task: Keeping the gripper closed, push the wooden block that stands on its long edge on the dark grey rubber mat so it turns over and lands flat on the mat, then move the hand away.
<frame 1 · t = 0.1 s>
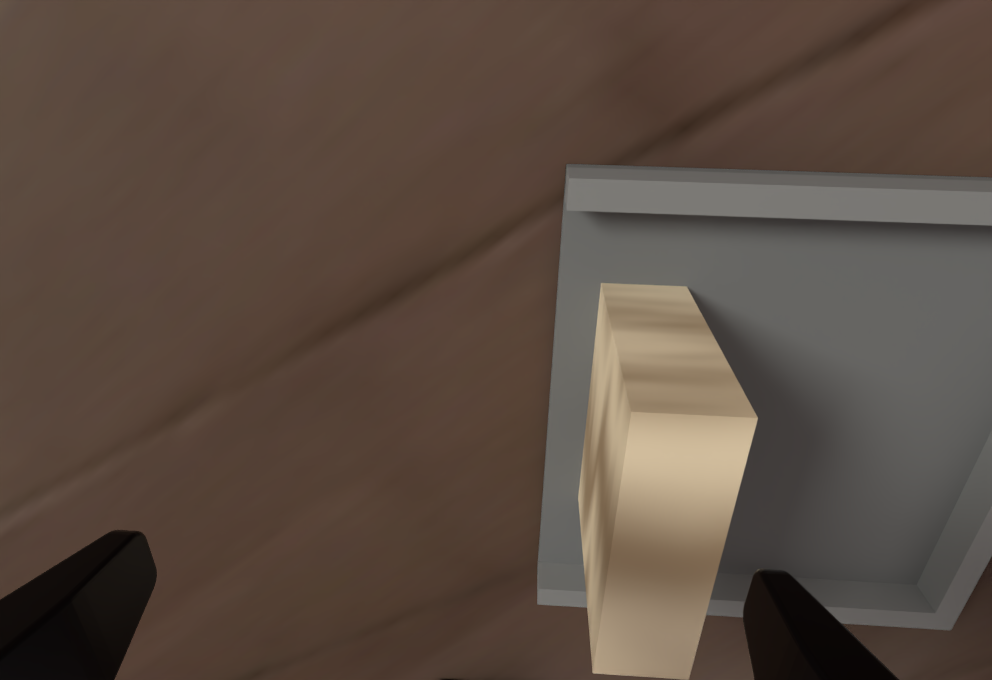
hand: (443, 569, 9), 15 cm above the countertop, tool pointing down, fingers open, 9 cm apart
wooden block: (627, 402, 24), resting on mat
mat: (775, 413, 25), on the countertop
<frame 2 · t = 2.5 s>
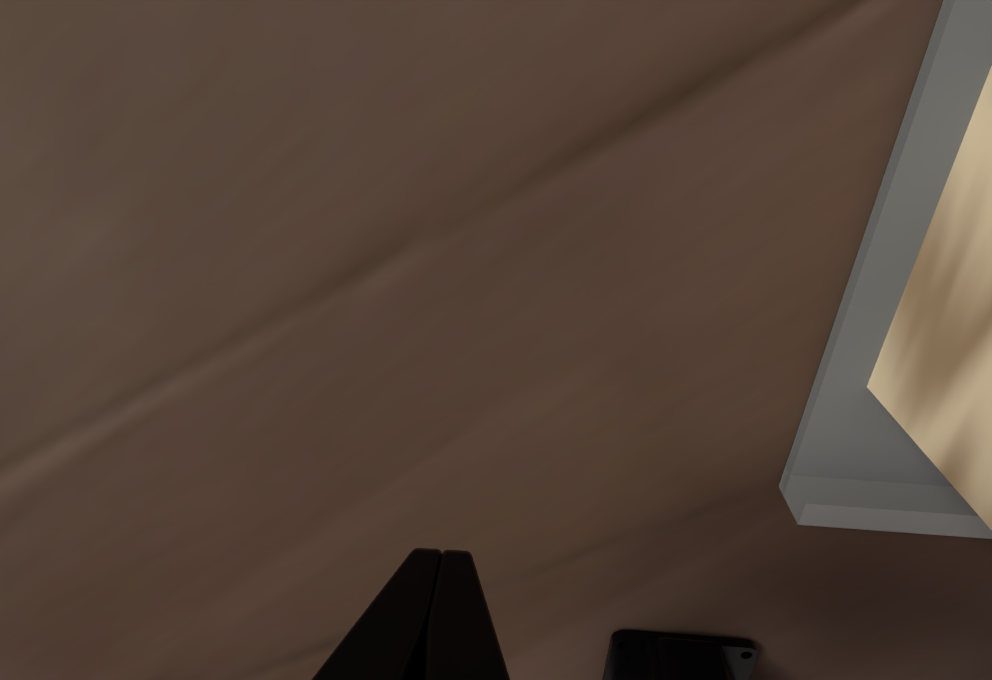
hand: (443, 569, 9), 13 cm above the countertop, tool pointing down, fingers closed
wooden block: (972, 249, 19), resting on mat
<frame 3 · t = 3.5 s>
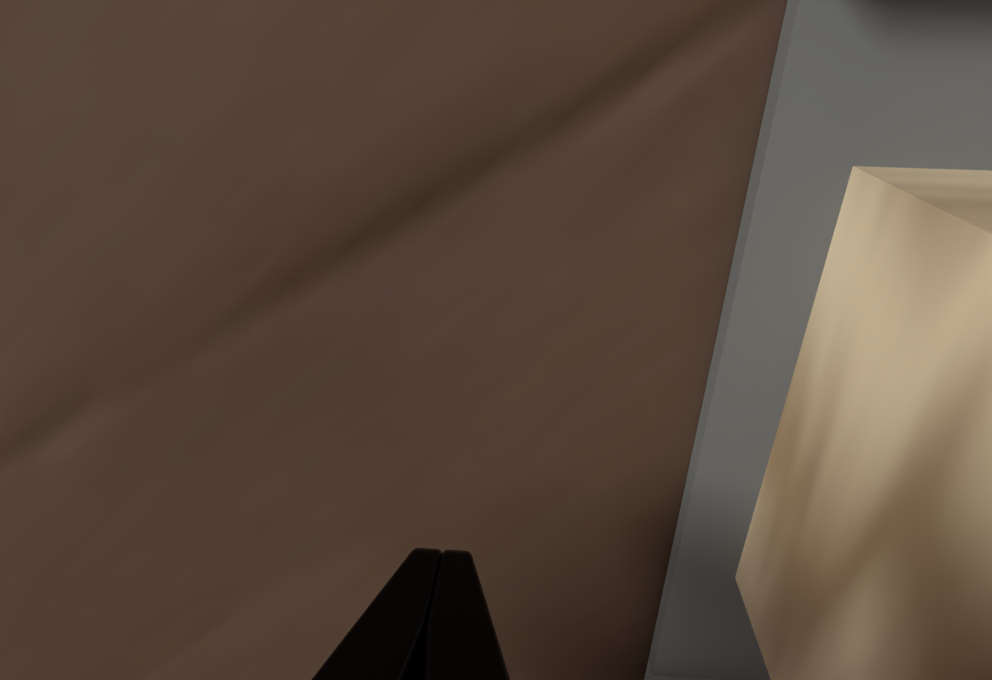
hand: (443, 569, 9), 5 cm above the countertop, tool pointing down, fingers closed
wooden block: (856, 412, 13), resting on mat
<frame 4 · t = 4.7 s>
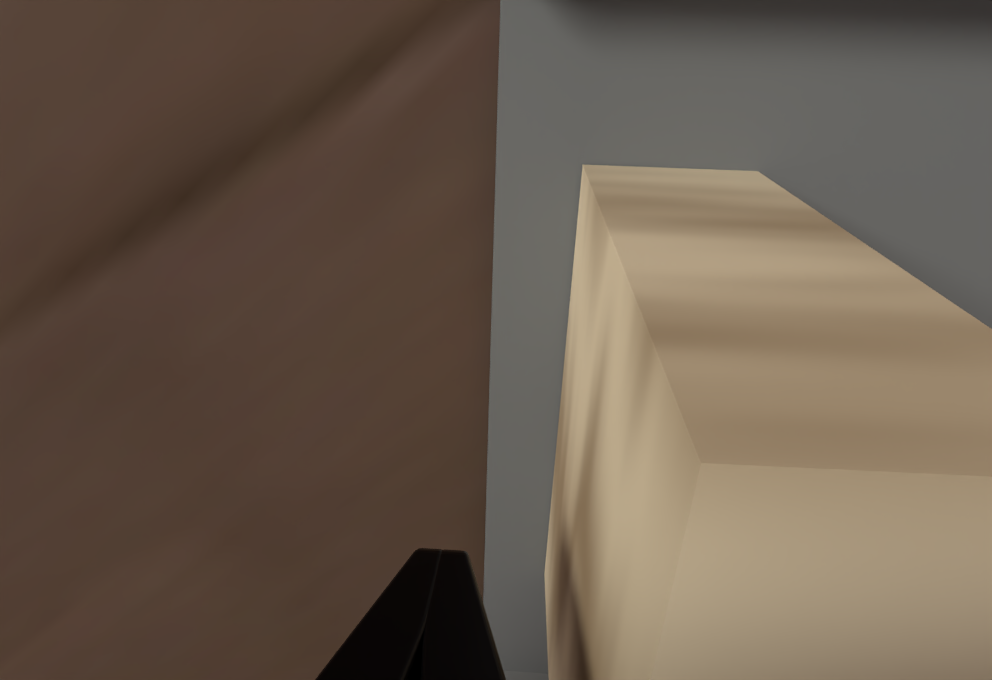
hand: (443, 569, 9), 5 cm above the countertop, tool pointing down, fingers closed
wooden block: (631, 409, 13), point 1 cm above the countertop, touching gripper, mat
mat: (902, 430, 13), on the countertop
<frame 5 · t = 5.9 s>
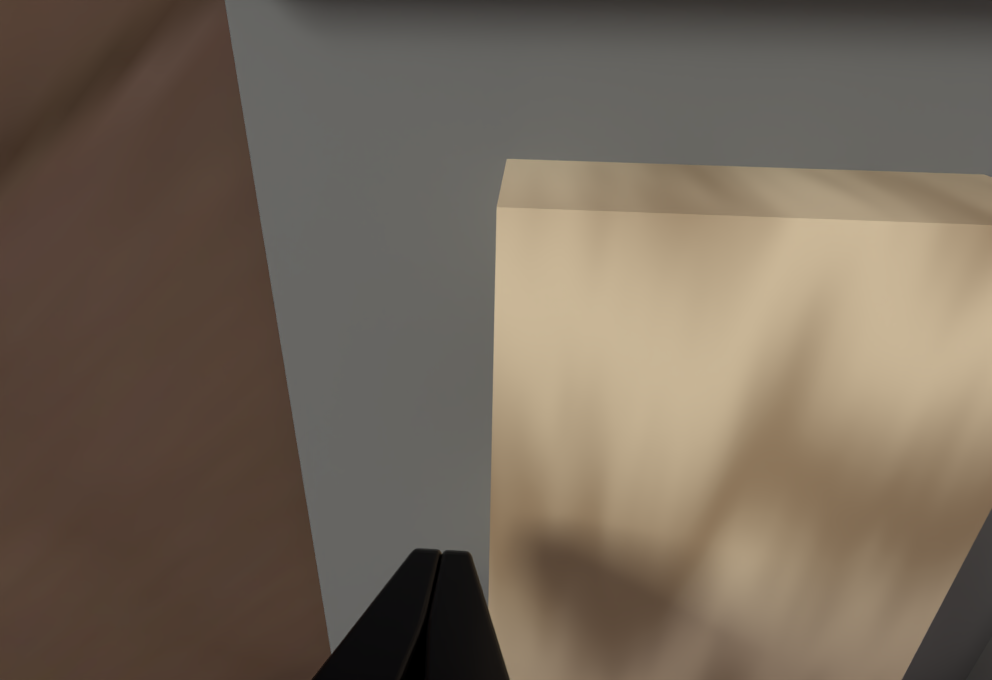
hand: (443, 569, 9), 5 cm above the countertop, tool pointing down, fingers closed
wooden block: (495, 444, 12), point 2 cm above the countertop, tilted 90°, touching mat
mat: (704, 417, 14), on the countertop
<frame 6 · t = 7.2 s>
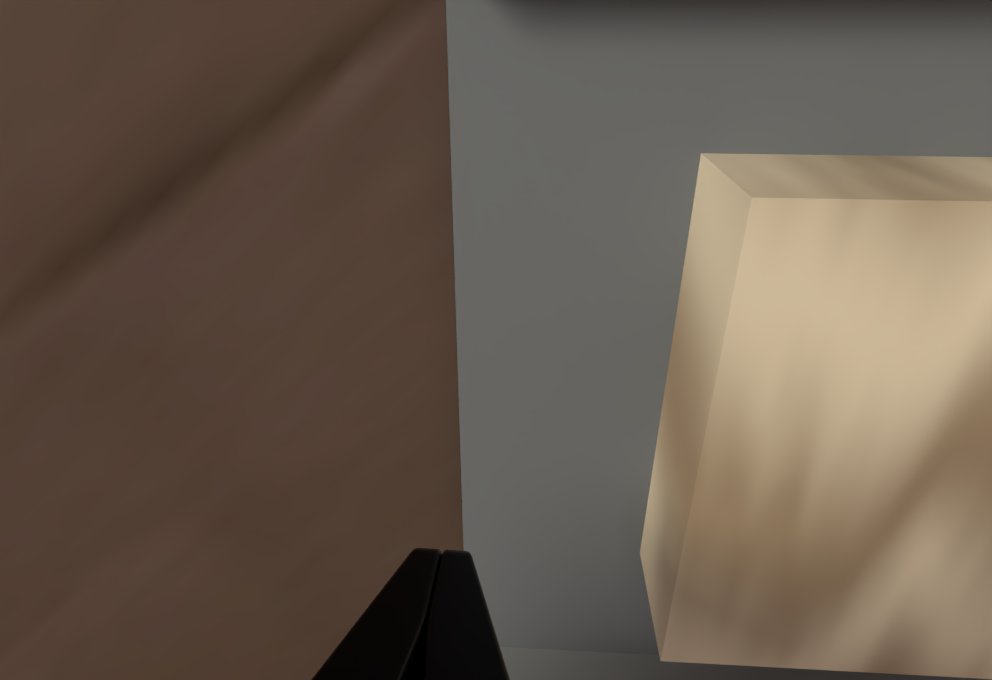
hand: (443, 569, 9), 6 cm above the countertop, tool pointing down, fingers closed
wooden block: (678, 428, 12), point 2 cm above the countertop, tilted 90°, touching mat
mat: (858, 401, 14), on the countertop
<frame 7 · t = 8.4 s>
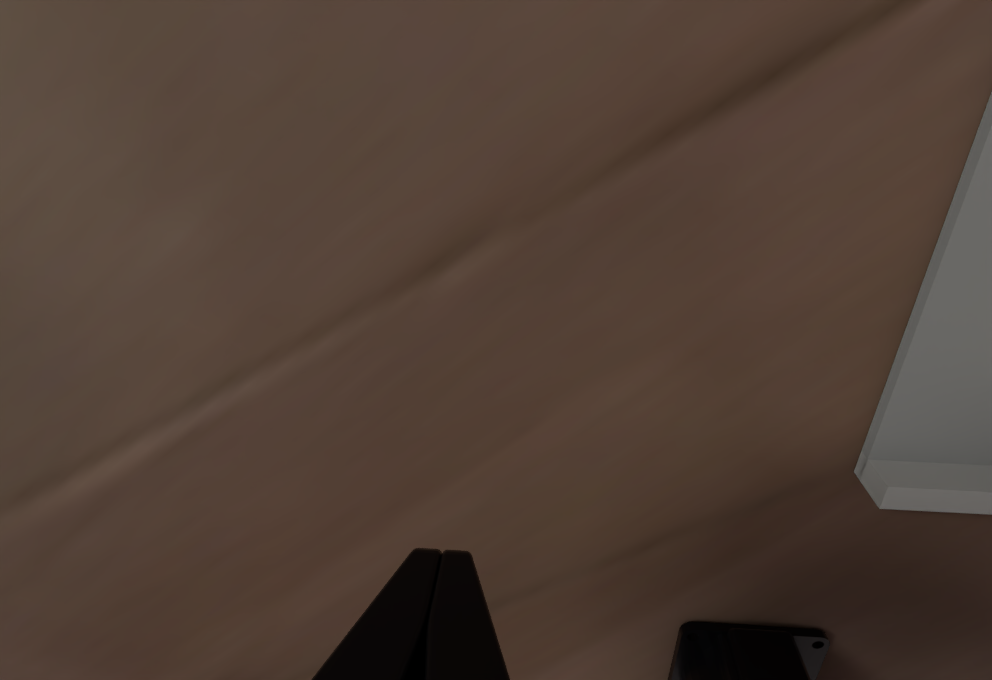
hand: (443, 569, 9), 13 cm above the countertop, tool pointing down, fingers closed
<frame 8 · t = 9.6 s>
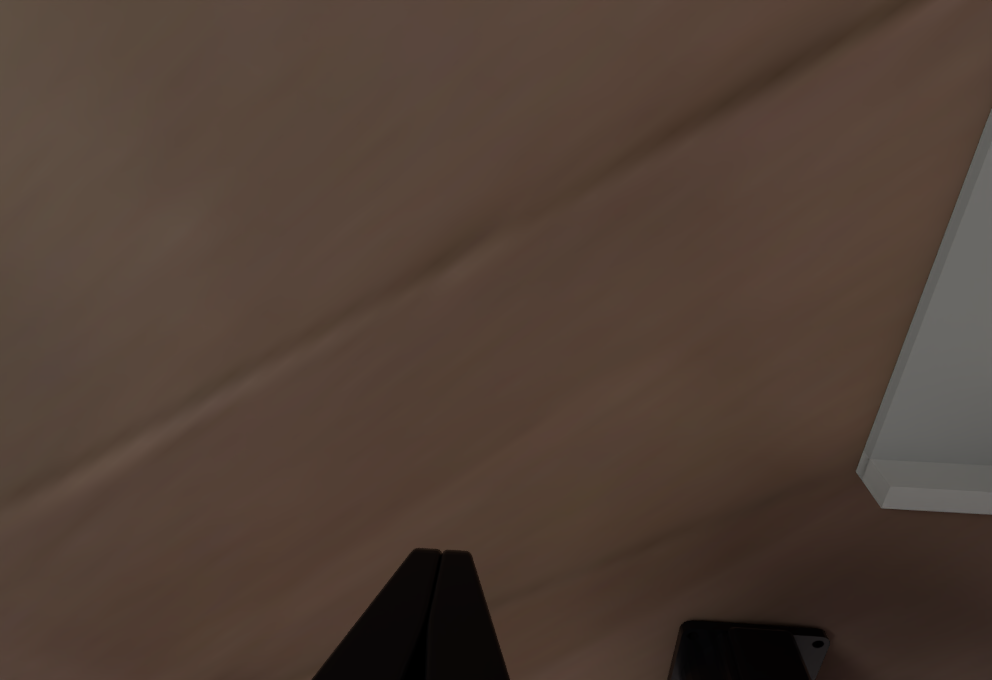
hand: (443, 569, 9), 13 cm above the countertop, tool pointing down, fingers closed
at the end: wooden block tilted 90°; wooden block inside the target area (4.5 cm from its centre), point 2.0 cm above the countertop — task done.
